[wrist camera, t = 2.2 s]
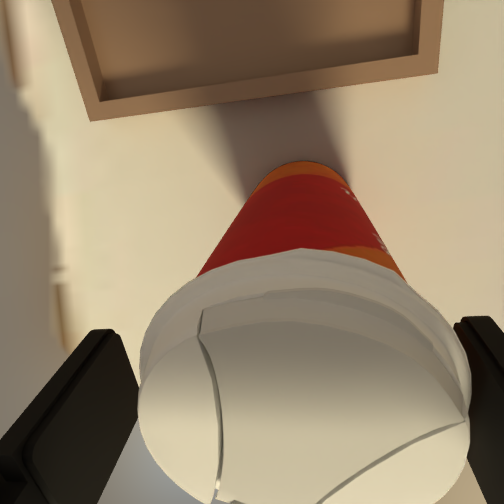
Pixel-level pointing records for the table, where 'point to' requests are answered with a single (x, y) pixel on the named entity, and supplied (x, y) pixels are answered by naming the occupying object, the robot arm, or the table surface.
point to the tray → (239, 48)
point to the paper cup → (304, 362)
